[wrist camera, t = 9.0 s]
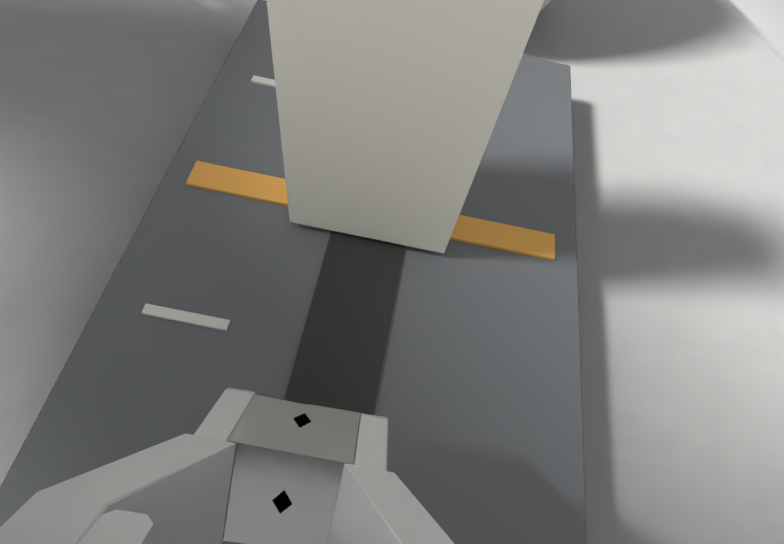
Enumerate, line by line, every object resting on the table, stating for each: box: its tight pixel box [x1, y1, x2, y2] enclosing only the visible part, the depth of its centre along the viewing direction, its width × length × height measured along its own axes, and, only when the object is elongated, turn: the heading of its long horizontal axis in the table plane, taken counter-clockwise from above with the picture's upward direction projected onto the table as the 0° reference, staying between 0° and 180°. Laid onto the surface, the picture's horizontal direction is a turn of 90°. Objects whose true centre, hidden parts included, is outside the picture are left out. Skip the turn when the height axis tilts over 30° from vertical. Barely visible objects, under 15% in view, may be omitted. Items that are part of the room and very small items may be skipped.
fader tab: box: [266, 0, 544, 253], centre depth 11 cm, size 3×5×12 cm, turn 80°
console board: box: [0, 0, 586, 544], centre depth 15 cm, size 30×14×2 cm, turn 170°
